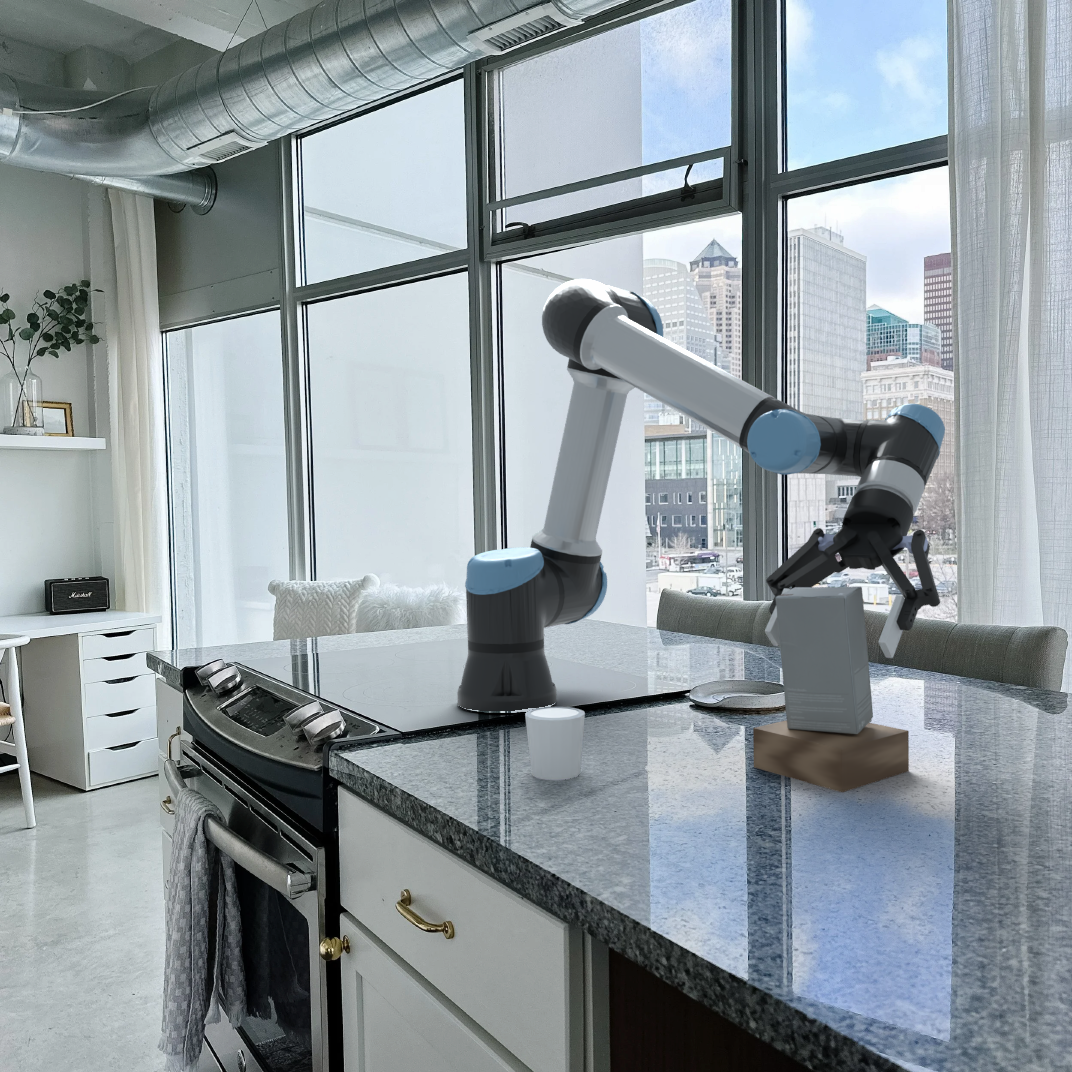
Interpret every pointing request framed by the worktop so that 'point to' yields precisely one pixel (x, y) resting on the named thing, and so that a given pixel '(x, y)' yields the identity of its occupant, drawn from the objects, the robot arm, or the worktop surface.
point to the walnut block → (832, 754)
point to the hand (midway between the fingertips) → (825, 644)
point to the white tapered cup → (555, 742)
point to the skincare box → (824, 659)
